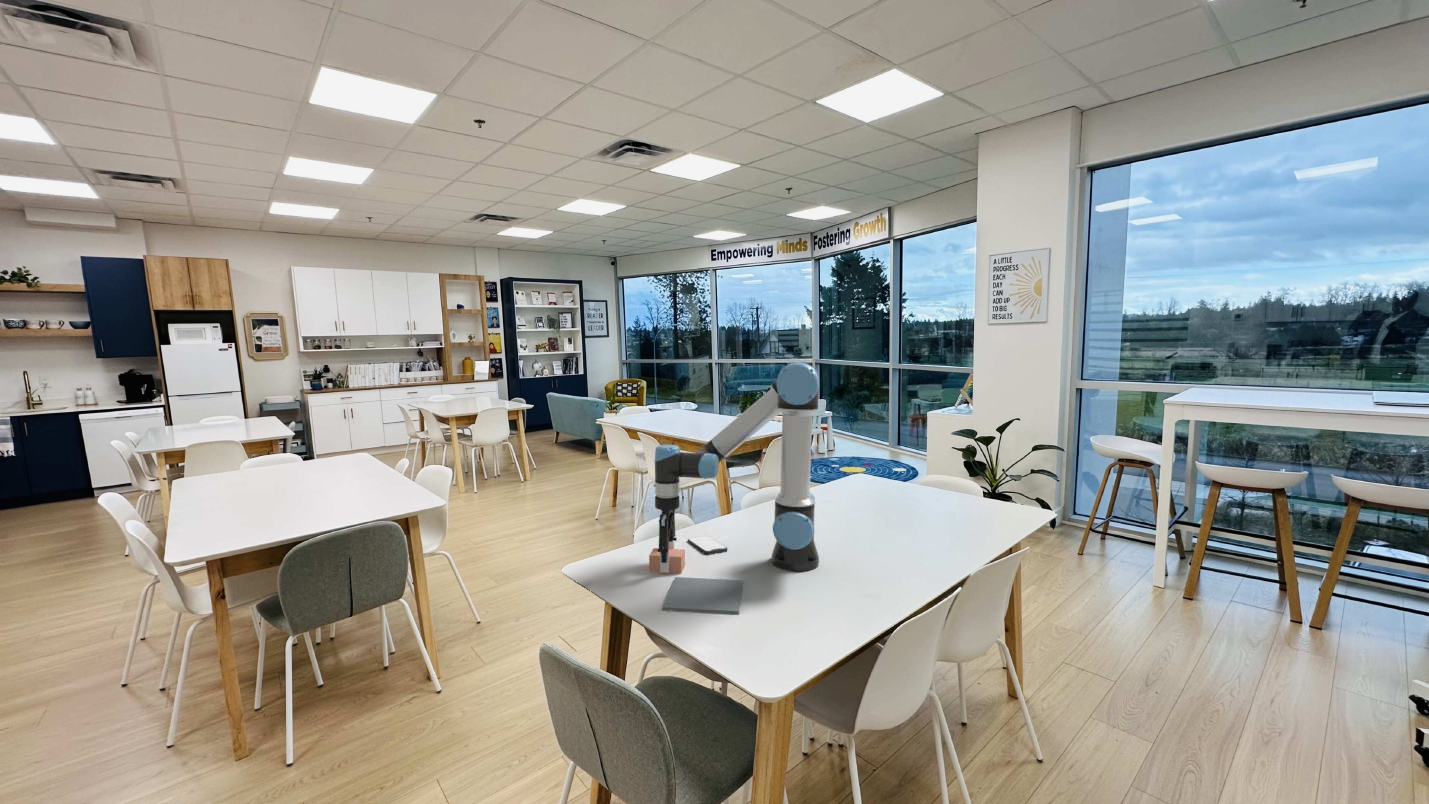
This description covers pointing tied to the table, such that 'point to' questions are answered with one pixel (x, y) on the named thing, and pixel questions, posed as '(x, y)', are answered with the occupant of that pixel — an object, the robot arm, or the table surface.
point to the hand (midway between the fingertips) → (667, 566)
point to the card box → (674, 561)
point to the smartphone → (707, 545)
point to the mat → (704, 595)
